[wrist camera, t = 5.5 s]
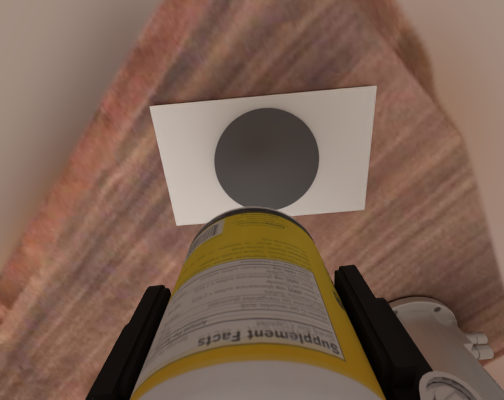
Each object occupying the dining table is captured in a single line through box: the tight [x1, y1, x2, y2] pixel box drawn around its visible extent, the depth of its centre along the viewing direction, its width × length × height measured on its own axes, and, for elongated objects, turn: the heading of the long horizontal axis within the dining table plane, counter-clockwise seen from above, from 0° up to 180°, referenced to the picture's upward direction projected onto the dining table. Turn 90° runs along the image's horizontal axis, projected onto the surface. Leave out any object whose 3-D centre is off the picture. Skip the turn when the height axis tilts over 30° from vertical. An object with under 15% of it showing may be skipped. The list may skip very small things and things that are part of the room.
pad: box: [214, 108, 319, 210], centre depth 24 cm, size 10×10×1 cm
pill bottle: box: [130, 206, 386, 400], centre depth 8 cm, size 6×6×12 cm
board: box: [149, 86, 377, 225], centre depth 25 cm, size 20×12×1 cm, turn 95°
